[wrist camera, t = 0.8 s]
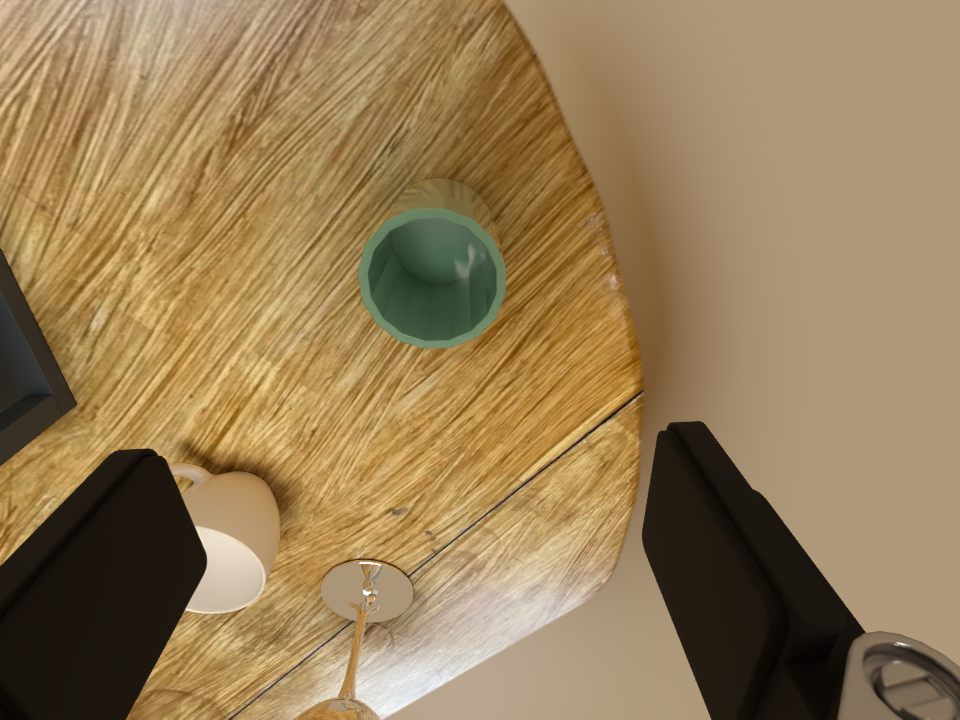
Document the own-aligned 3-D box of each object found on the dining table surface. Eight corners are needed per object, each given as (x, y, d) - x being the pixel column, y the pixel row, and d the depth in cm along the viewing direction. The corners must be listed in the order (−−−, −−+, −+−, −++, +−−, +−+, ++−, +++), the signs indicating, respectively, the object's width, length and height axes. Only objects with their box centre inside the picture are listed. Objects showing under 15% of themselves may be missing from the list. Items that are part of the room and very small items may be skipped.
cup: (243, 546, 38) (202, 629, 32) (136, 460, 34) (67, 538, 28) (320, 504, 36) (292, 584, 30) (218, 408, 32) (162, 479, 26)
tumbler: (379, 179, 26) (348, 211, 19) (494, 175, 26) (505, 205, 19) (392, 288, 29) (369, 351, 22) (496, 284, 29) (506, 346, 22)
